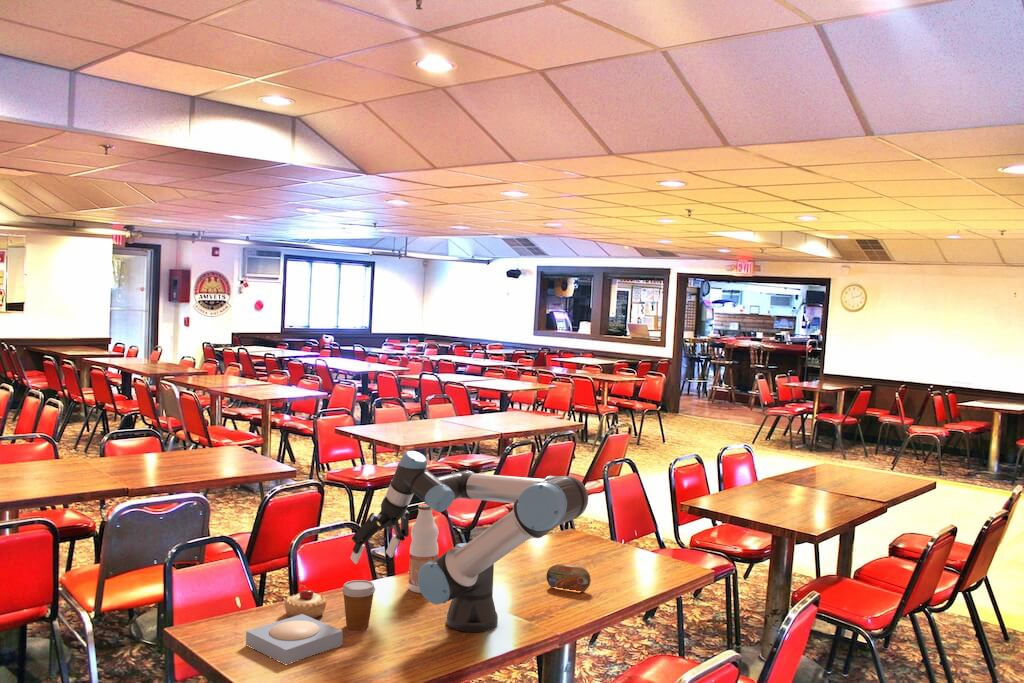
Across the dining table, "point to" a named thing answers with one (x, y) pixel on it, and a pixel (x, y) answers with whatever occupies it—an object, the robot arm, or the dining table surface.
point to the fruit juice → (422, 544)
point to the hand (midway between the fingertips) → (371, 557)
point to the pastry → (305, 604)
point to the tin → (568, 577)
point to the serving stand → (294, 638)
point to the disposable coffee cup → (358, 603)
